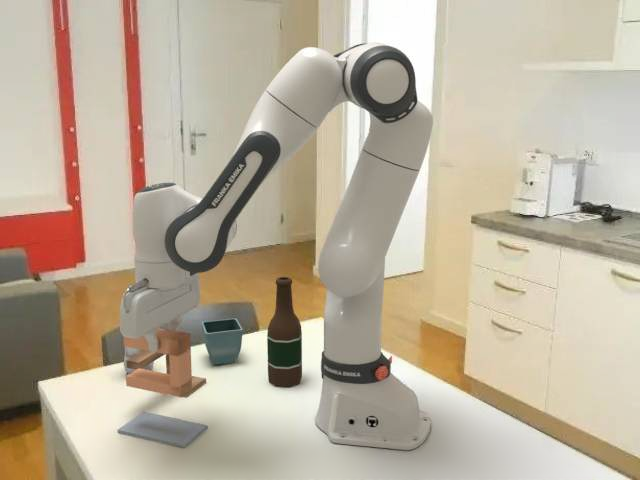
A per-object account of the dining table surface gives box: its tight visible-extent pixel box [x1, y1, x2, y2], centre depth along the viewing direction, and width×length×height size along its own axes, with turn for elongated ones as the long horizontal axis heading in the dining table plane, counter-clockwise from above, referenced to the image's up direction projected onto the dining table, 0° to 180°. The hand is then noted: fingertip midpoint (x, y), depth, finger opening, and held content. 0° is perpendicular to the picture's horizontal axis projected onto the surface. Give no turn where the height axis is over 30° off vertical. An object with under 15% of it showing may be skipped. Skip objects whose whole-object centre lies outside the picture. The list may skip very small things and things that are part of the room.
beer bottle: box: [266, 276, 303, 388], centre depth 144 cm, size 8×8×24 cm
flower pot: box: [201, 318, 244, 365], centre depth 158 cm, size 9×9×9 cm
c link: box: [122, 327, 193, 398], centre depth 122 cm, size 12×4×11 cm, turn 68°
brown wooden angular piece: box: [126, 350, 207, 398], centre depth 138 cm, size 10×18×12 cm, turn 158°
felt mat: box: [117, 410, 209, 449], centre depth 125 cm, size 15×8×1 cm, turn 68°
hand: (163, 344), depth 121 cm, fingers closed on c link, 4 cm apart
